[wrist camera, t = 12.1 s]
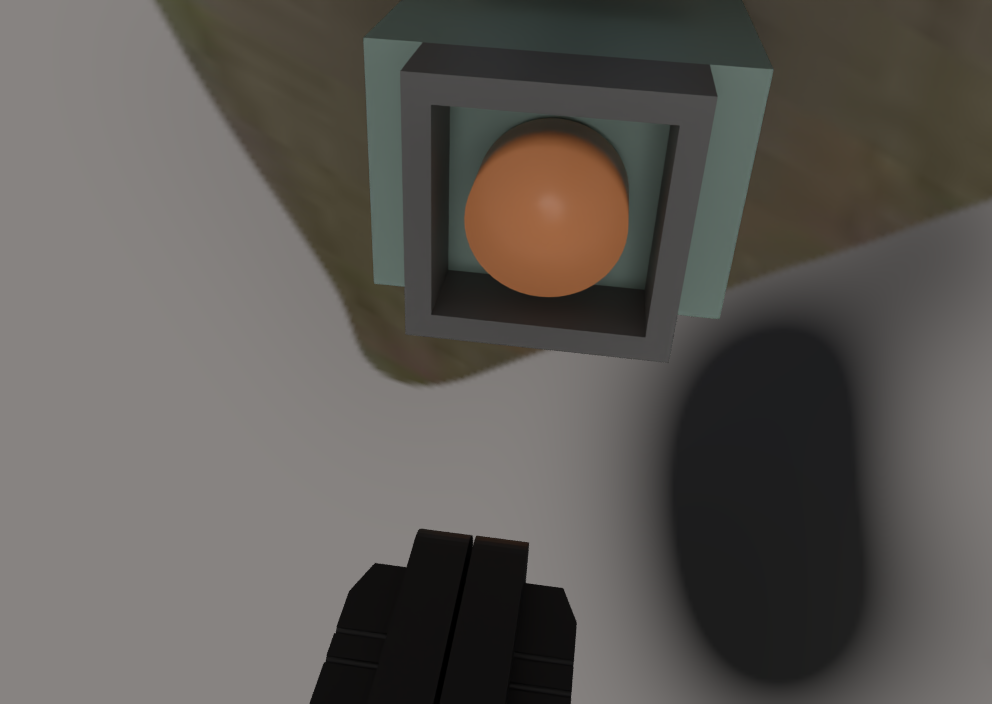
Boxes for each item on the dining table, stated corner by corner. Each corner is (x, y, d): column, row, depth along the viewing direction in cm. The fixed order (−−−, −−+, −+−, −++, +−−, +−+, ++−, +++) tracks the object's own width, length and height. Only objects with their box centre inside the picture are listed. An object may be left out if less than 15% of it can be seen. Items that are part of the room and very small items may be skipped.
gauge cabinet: (420, -32, 29) (315, 64, 20) (737, -10, 28) (788, 102, 19) (421, 167, 33) (334, 326, 23) (700, 192, 32) (727, 369, 23)
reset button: (478, 111, 22) (465, 139, 20) (638, 125, 22) (638, 154, 20) (474, 253, 24) (462, 288, 22) (619, 267, 24) (618, 304, 22)
